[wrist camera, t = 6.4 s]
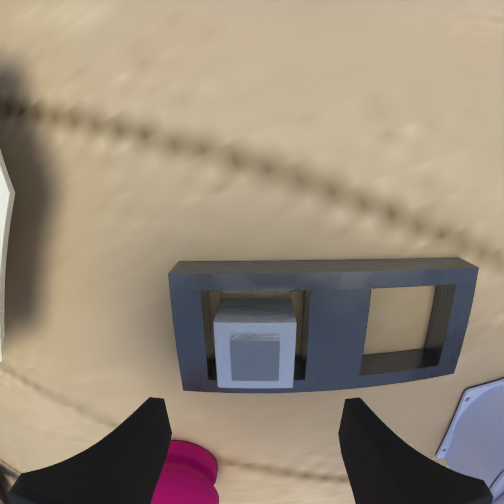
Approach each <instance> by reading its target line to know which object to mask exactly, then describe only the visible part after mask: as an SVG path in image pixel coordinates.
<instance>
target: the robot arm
mask: <svg viewBox="0 0 504 504" xmlns="http://www.w3.org/2000/svg"><path fill="white" fill-rule="evenodd" d="M338 434H339V441H340V447H341V453H342V457H343V461H344V464H345V467H346V471H347V474H348V477H349V481H350V484H351V488H352V491H353V494H354V499H355V503H356V504H504V379H501V380H498V381H495V382H491V383H488V384H484V385H481V386H477V387H473V388H469V389H467V390H466V391H465V392H464V394H463V396H462V399H461V401H460V404H459V406H458V409H457V411H456V414H455V416H454V418H453V421H452V423H451V425H450V427H449V430H448V432H447V434H446V436H445V438H444V440H443V442H442V444H441V446H440V448H439V450H438V452H437V454H436V458H437V459H441V458H445V460H446V462H447V464H448V466H449V468H450V469H449V468H446V467H444V466H442V465H440V464H438V463H436V462H434V461H433V460H431V459H429V458H427V457H426V456H424V455H422V454H421V453H419V452H418V451H416V450H415V449H413V448H412V447H411V446H409V445H408V444H407V443H405V442H404V441H403V440H402V439H401V438H399V437H398V436H397V435H396V434H395V433H394V432H393V431H392V430H391V429H389V428H388V427H387V426H386V425H385V424H384V423H383V422H382V421H381V420H380V419H379V418H378V417H377V416H376V414H375V413H374V412H373V411H372V410H371V409H370V408H369V407H368V406H367V405H366V404H365V402H364V401H363V400H362V399H361V398H352V399H345V403H344V408H343V414H342V419H341V424H340V429H339V433H338ZM171 435H172V431H171V427H170V423H169V419H168V415H167V410H166V406H165V401H164V399H162V398H152V397H150V398H149V399H147V400H146V401H145V402H144V403H143V404H142V405H141V406H140V407H139V408H138V409H137V410H136V411H135V412H134V413H133V414H132V415H131V416H129V417H128V418H127V419H126V420H125V421H124V422H123V423H122V424H120V425H119V426H118V427H117V428H116V429H115V430H113V431H112V432H111V433H110V434H108V435H107V436H106V437H104V438H103V439H102V440H100V441H99V442H98V443H96V444H95V445H93V446H91V447H90V448H88V449H86V450H85V451H83V452H81V453H79V454H77V455H75V456H73V457H71V458H69V459H67V460H65V461H62V462H60V463H57V464H55V465H52V466H49V467H46V468H43V469H39V470H35V471H31V472H26V473H21V475H20V476H19V477H18V479H17V480H16V482H15V483H14V485H13V486H12V488H11V489H10V491H9V493H8V498H9V500H10V502H11V503H12V504H151V501H152V497H153V494H154V491H155V488H156V485H157V482H158V480H159V477H160V474H161V471H162V468H163V466H164V463H165V460H166V457H167V454H168V450H169V445H170V440H171Z"/></svg>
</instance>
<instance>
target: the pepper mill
mask: <svg viewBox="0 0 504 504" xmlns="http://www.w3.org/2000/svg"><path fill="white" fill-rule="evenodd" d="M217 471H218V465H217V462H216V460H215V458H214V457H213V456H212V455H211V454H210V453H209V452H208V451H206V450H205V449H203V448H201V447H199V446H197V445H194V444H191V443H187V442H183V441H170V445H169V450H168V454H167V457H166V460H165V463H164V466H163V468H162V471H161V474H160V477H159V480H158V482H157V485H156V488H155V491H154V494H153V497H152V501H151V504H219V496H218V493H217V490H216V489H215V487H214V486H213V485H214V484H215V482H216V477H217Z"/></svg>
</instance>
